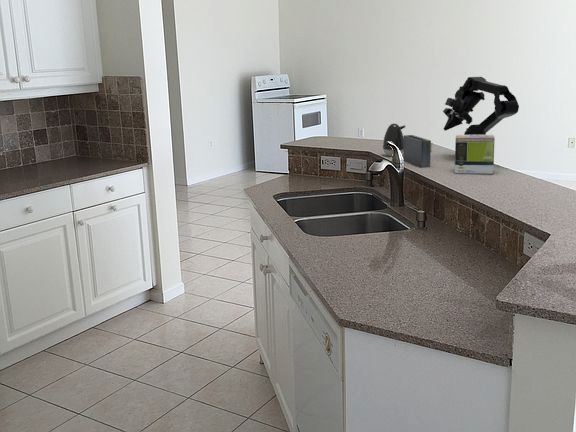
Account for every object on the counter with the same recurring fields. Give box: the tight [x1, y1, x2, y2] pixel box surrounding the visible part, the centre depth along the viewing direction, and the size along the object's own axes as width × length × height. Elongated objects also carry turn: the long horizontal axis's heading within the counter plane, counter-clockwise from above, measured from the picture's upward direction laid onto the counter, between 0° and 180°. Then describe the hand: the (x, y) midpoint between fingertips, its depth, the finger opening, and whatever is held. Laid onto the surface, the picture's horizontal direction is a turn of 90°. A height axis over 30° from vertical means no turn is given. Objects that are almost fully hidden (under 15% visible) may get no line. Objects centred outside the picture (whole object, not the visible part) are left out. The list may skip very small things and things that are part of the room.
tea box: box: [454, 134, 495, 175], centre depth 257 cm, size 15×10×15 cm
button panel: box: [402, 134, 432, 168], centre depth 279 cm, size 4×20×11 cm, turn 12°
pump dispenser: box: [382, 123, 406, 158], centre depth 300 cm, size 10×10×15 cm
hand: (444, 129), depth 283 cm, fingers closed
